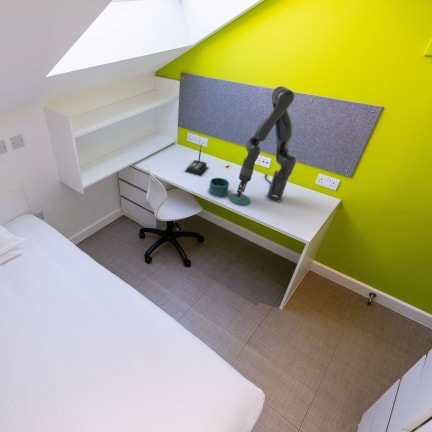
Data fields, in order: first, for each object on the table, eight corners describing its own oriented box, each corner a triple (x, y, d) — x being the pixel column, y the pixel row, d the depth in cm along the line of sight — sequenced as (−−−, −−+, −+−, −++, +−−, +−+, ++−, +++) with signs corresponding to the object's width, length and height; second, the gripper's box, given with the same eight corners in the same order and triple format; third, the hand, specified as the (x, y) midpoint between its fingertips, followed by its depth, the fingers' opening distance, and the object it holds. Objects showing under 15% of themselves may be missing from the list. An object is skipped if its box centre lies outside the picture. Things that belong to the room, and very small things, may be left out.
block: (215, 189, 210) (216, 184, 208) (221, 191, 208) (223, 186, 206) (213, 192, 207) (214, 187, 204) (219, 194, 205) (220, 189, 203)
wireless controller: (201, 176, 227) (204, 155, 217) (184, 171, 232) (186, 151, 222) (209, 165, 241) (213, 146, 230) (194, 161, 246) (196, 142, 236)
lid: (232, 192, 208) (234, 185, 205) (252, 198, 202) (254, 191, 199) (226, 202, 199) (227, 194, 195) (246, 208, 193) (248, 200, 189)
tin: (212, 186, 215) (214, 176, 210) (229, 191, 210) (231, 181, 205) (205, 194, 207) (207, 183, 202) (222, 199, 201) (225, 189, 196)
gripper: (248, 179, 181) (242, 200, 191) (255, 170, 191) (249, 191, 201) (237, 175, 184) (231, 197, 194) (243, 166, 194) (238, 188, 204)
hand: (240, 194), depth 197 cm, fingers open, 8 cm apart
